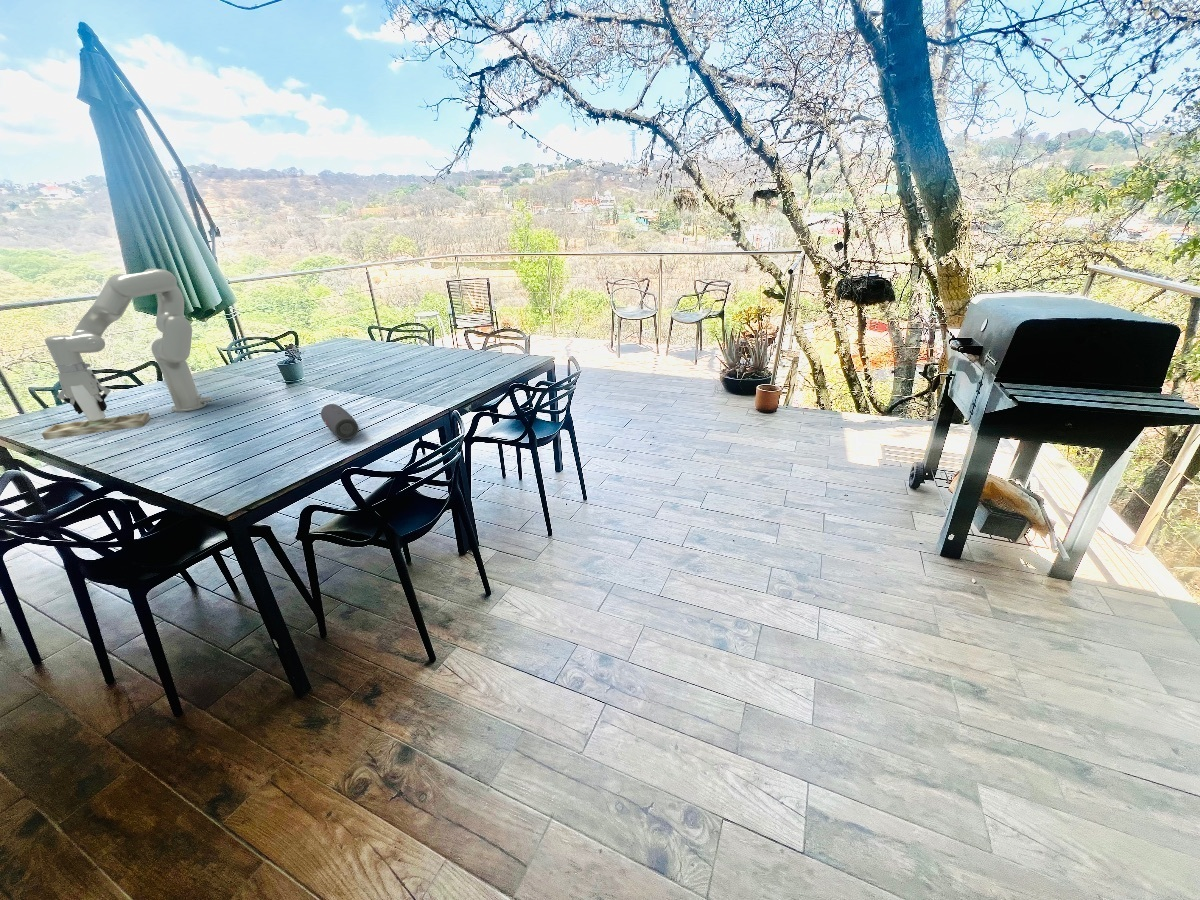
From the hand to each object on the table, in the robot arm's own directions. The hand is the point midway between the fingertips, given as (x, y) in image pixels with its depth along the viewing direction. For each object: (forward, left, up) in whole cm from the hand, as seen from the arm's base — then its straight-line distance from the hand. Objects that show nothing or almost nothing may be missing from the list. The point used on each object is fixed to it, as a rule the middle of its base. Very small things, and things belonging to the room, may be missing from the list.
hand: (92, 411), depth 193 cm
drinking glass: (0, 0, -4) cm, 4 cm away
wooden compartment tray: (0, 0, -7) cm, 7 cm away
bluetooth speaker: (-87, +55, -8) cm, 103 cm away
